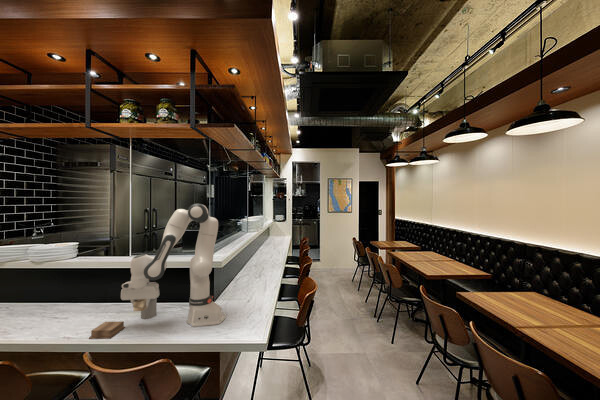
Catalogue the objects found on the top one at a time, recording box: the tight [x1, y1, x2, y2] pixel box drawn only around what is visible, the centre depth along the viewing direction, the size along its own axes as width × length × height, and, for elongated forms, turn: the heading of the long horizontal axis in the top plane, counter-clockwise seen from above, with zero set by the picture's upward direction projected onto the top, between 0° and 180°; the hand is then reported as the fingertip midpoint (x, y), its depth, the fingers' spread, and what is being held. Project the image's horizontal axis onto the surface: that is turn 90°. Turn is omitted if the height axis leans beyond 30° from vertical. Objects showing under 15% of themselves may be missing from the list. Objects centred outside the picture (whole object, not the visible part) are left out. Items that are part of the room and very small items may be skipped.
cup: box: [140, 297, 158, 320], centre depth 155 cm, size 8×8×10 cm
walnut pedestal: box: [88, 320, 126, 340], centre depth 133 cm, size 11×11×4 cm
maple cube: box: [133, 299, 148, 312], centre depth 141 cm, size 5×5×5 cm
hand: (140, 306), depth 141 cm, fingers closed on maple cube, 5 cm apart
